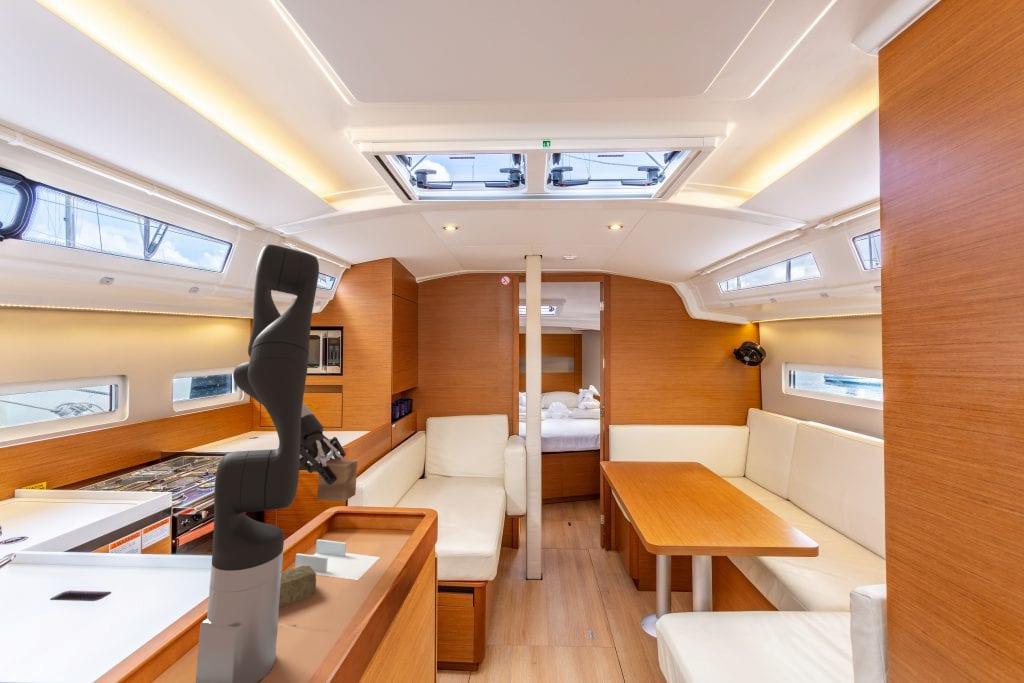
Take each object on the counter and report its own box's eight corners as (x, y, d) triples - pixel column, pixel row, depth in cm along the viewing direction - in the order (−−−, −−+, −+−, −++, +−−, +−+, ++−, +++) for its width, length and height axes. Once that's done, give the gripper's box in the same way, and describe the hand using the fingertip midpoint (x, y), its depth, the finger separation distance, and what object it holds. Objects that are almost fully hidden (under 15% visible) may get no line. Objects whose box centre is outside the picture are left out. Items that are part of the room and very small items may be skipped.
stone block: (316, 598, 77) (318, 572, 78) (248, 623, 69) (250, 595, 70) (308, 585, 81) (309, 561, 82) (243, 607, 74) (244, 581, 74)
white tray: (357, 583, 83) (358, 565, 83) (275, 571, 86) (276, 554, 86) (380, 559, 92) (381, 544, 93) (305, 550, 96) (306, 535, 96)
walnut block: (343, 502, 87) (345, 466, 87) (317, 499, 88) (319, 463, 88) (355, 494, 92) (357, 460, 92) (330, 492, 93) (332, 458, 93)
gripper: (287, 417, 85) (333, 476, 83) (327, 409, 99) (367, 460, 97) (264, 439, 86) (309, 499, 83) (307, 429, 100) (347, 480, 97)
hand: (340, 478), depth 90 cm, fingers closed on walnut block, 5 cm apart
